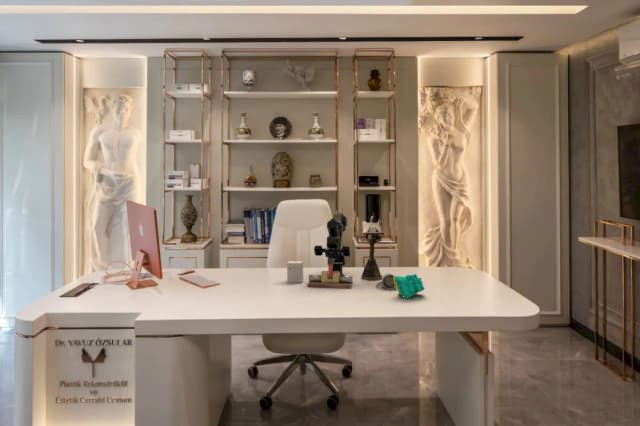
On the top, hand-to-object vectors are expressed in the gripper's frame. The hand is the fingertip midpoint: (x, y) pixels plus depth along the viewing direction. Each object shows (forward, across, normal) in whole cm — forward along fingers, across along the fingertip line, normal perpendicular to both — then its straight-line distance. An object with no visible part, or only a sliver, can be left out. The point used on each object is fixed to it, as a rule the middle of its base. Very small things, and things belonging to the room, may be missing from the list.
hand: (330, 263), depth 252 cm
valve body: (+7, 0, +6) cm, 9 cm away
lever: (+5, 0, +5) cm, 7 cm away
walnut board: (+8, 0, +8) cm, 11 cm away
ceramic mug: (+9, +29, +7) cm, 31 cm away
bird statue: (-5, +21, +21) cm, 30 cm away
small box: (+4, -20, +12) cm, 23 cm away
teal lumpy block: (+21, +39, -5) cm, 45 cm away
